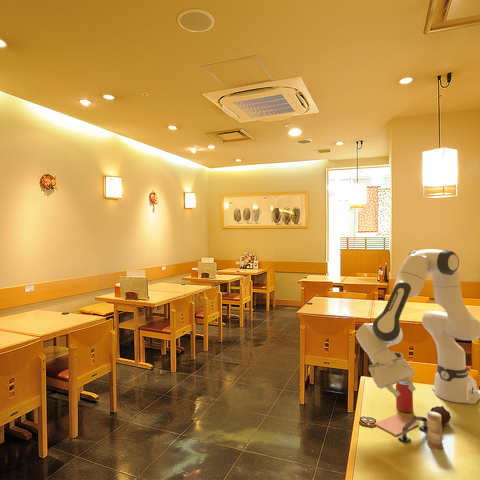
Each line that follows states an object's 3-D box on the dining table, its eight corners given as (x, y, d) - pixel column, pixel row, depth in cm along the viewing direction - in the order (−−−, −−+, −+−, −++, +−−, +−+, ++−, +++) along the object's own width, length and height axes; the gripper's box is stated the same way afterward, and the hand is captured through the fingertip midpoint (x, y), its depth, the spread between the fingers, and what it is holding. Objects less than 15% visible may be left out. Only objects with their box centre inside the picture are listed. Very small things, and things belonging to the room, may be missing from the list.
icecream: (430, 397, 145) (423, 415, 133) (449, 398, 140) (444, 416, 129) (435, 414, 144) (429, 433, 133) (455, 415, 140) (450, 435, 128)
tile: (396, 415, 144) (396, 413, 144) (418, 425, 135) (418, 424, 135) (374, 424, 137) (374, 423, 137) (396, 436, 128) (396, 434, 128)
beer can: (415, 414, 144) (414, 385, 144) (398, 412, 146) (397, 384, 146) (410, 406, 151) (409, 379, 151) (394, 405, 152) (394, 378, 152)
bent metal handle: (424, 426, 134) (423, 408, 134) (431, 430, 132) (431, 411, 132) (398, 439, 126) (397, 420, 126) (405, 443, 124) (405, 423, 124)
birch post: (432, 439, 126) (431, 409, 126) (446, 446, 122) (445, 415, 122) (424, 443, 123) (423, 413, 123) (437, 450, 119) (437, 419, 119)
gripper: (371, 361, 133) (393, 396, 125) (403, 352, 144) (426, 383, 135) (362, 369, 137) (383, 403, 129) (394, 359, 147) (416, 390, 139)
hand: (406, 393), depth 132 cm, fingers open, 8 cm apart
